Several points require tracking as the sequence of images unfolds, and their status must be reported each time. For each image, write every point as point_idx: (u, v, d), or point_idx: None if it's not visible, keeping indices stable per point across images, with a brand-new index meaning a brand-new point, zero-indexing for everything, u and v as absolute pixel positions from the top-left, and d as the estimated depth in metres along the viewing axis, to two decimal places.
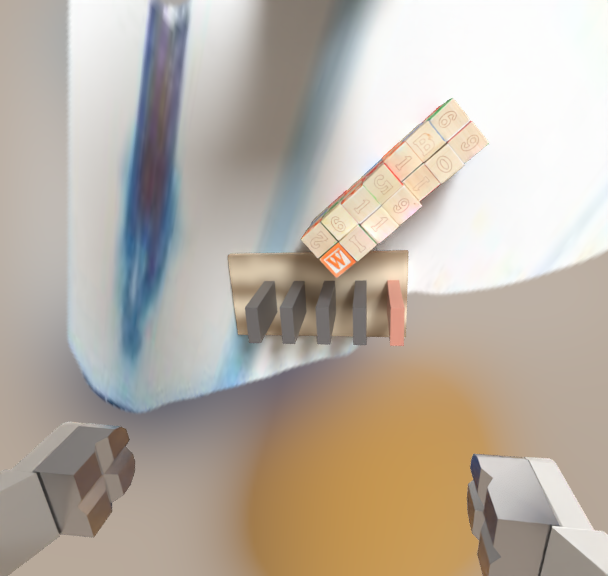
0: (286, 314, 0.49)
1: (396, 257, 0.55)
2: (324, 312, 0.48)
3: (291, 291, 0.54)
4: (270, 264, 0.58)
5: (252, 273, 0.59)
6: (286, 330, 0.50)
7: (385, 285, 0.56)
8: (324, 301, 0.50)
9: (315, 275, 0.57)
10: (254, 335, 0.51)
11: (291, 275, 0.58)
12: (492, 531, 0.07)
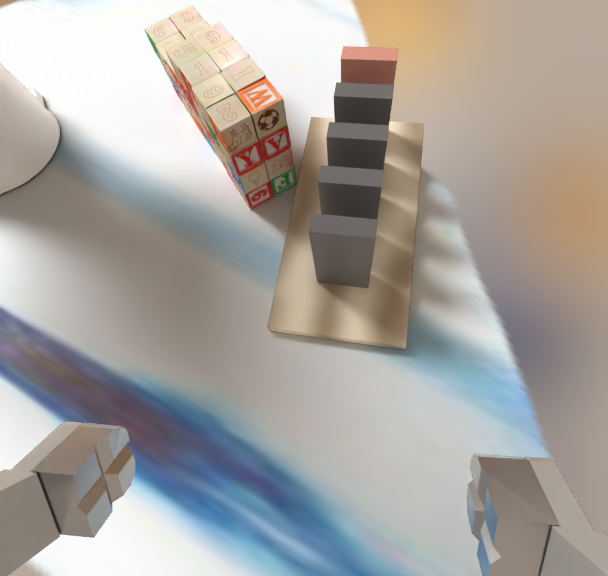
0: (330, 174, 0.31)
1: (314, 127, 0.46)
2: (335, 127, 0.33)
3: None
4: (293, 268, 0.40)
5: (301, 296, 0.38)
6: (358, 178, 0.31)
7: None
8: None
9: None
10: (362, 227, 0.29)
11: None
12: (492, 531, 0.07)
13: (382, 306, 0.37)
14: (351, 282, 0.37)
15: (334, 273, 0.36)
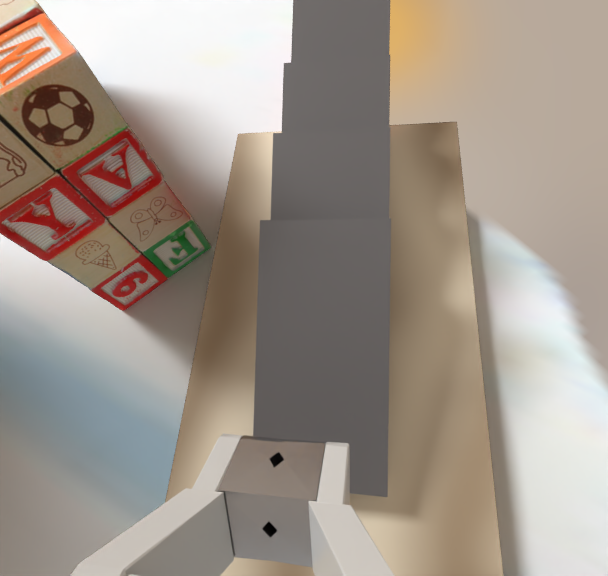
0: None
1: (244, 152, 0.24)
2: None
3: None
4: None
5: None
6: None
7: None
8: None
9: None
10: None
11: (249, 412, 0.17)
12: (269, 507, 0.08)
13: None
14: None
15: (300, 412, 0.15)
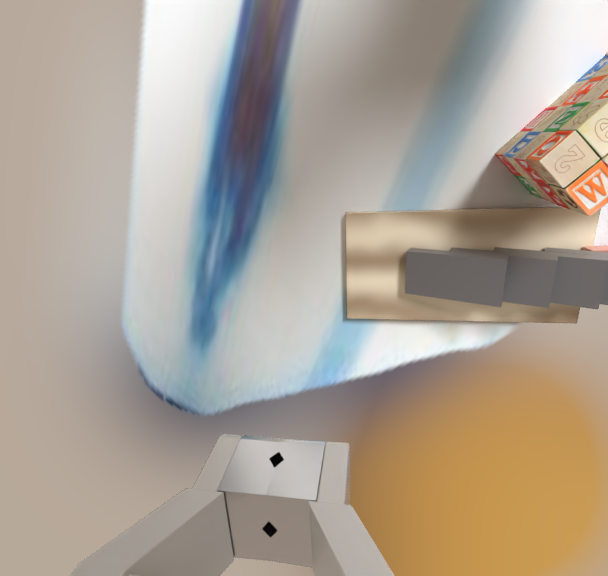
0: None
1: (582, 215, 0.41)
2: None
3: (492, 253, 0.41)
4: (403, 225, 0.44)
5: (376, 237, 0.45)
6: None
7: None
8: (582, 256, 0.39)
9: (463, 240, 0.44)
10: (503, 295, 0.41)
11: (430, 239, 0.44)
12: (269, 507, 0.08)
13: (376, 300, 0.48)
14: (414, 280, 0.44)
15: (430, 269, 0.43)
